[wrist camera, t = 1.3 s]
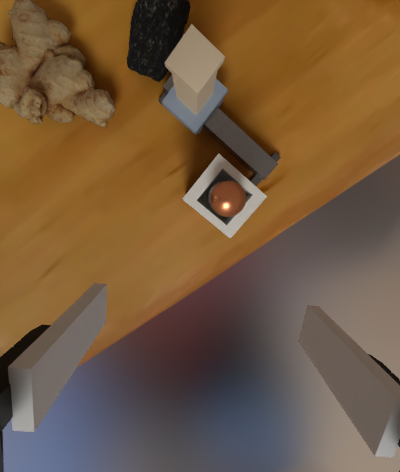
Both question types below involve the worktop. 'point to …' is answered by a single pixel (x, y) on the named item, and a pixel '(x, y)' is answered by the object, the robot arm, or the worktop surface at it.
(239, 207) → the copper knob
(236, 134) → the rail
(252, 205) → the white square housing
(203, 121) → the carriage
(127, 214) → the worktop surface
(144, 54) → the rock
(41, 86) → the ginger root
